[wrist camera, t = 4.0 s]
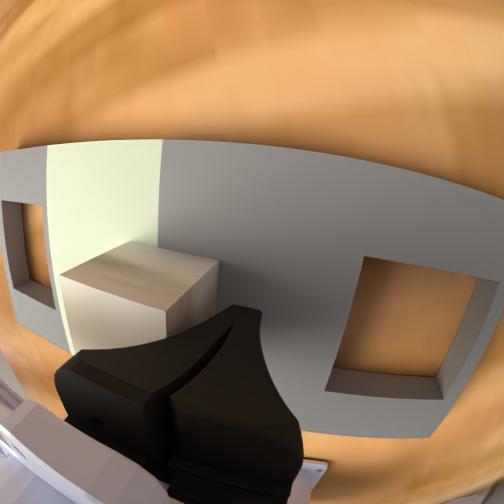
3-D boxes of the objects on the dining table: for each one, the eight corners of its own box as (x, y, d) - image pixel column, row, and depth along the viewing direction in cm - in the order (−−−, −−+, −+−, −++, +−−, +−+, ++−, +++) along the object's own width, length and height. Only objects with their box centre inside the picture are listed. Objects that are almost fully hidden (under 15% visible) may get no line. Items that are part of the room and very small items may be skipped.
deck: (423, 416, 14) (429, 437, 12) (32, 312, 20) (17, 321, 18) (510, 203, 10) (532, 211, 8) (15, 150, 16) (-4, 153, 14)
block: (213, 348, 13) (172, 413, 9) (133, 323, 14) (80, 371, 10) (219, 260, 12) (165, 311, 8) (129, 241, 13) (58, 275, 8)
